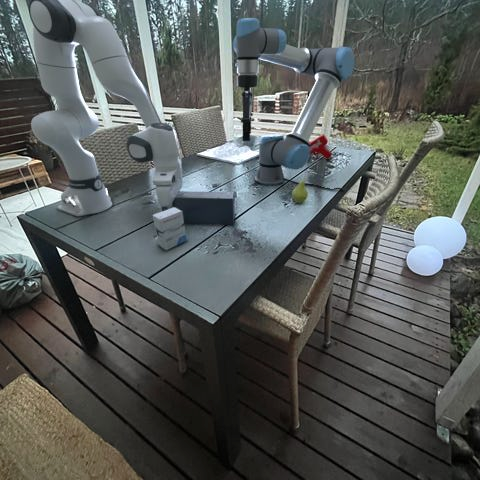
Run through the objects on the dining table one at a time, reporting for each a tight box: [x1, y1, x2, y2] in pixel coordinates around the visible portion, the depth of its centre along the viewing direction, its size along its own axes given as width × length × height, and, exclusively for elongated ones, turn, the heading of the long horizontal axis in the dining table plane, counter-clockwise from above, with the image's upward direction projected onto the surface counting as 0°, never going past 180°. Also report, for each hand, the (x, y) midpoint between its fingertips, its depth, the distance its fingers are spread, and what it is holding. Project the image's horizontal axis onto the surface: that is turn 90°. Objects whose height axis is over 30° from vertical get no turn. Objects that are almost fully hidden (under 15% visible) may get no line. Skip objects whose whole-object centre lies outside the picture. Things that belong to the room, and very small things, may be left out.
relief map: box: [196, 141, 259, 166], centre depth 184 cm, size 27×35×5 cm
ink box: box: [152, 207, 187, 251], centre depth 91 cm, size 8×5×12 cm, turn 135°
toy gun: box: [309, 133, 333, 161], centre depth 176 cm, size 18×4×15 cm
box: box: [160, 190, 235, 226], centre depth 104 cm, size 27×6×11 cm, turn 87°
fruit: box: [291, 174, 311, 204], centre depth 118 cm, size 7×8×12 cm
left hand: (174, 207), depth 105 cm, fingers open, 6 cm apart
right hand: (247, 137), depth 108 cm, fingers open, 13 cm apart
